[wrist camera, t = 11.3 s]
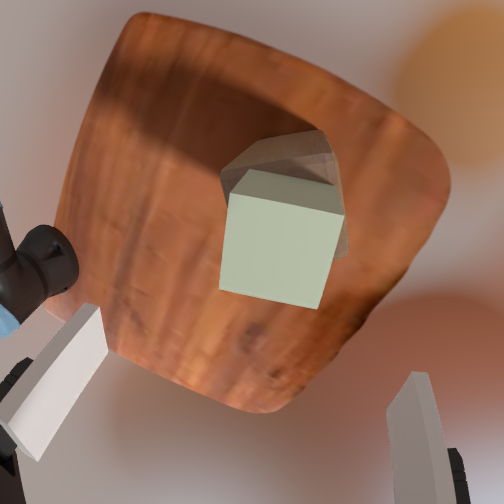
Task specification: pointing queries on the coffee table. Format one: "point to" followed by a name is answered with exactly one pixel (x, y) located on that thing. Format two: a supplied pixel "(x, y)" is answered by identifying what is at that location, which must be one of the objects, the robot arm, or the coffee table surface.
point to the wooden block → (291, 167)
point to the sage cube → (280, 238)
